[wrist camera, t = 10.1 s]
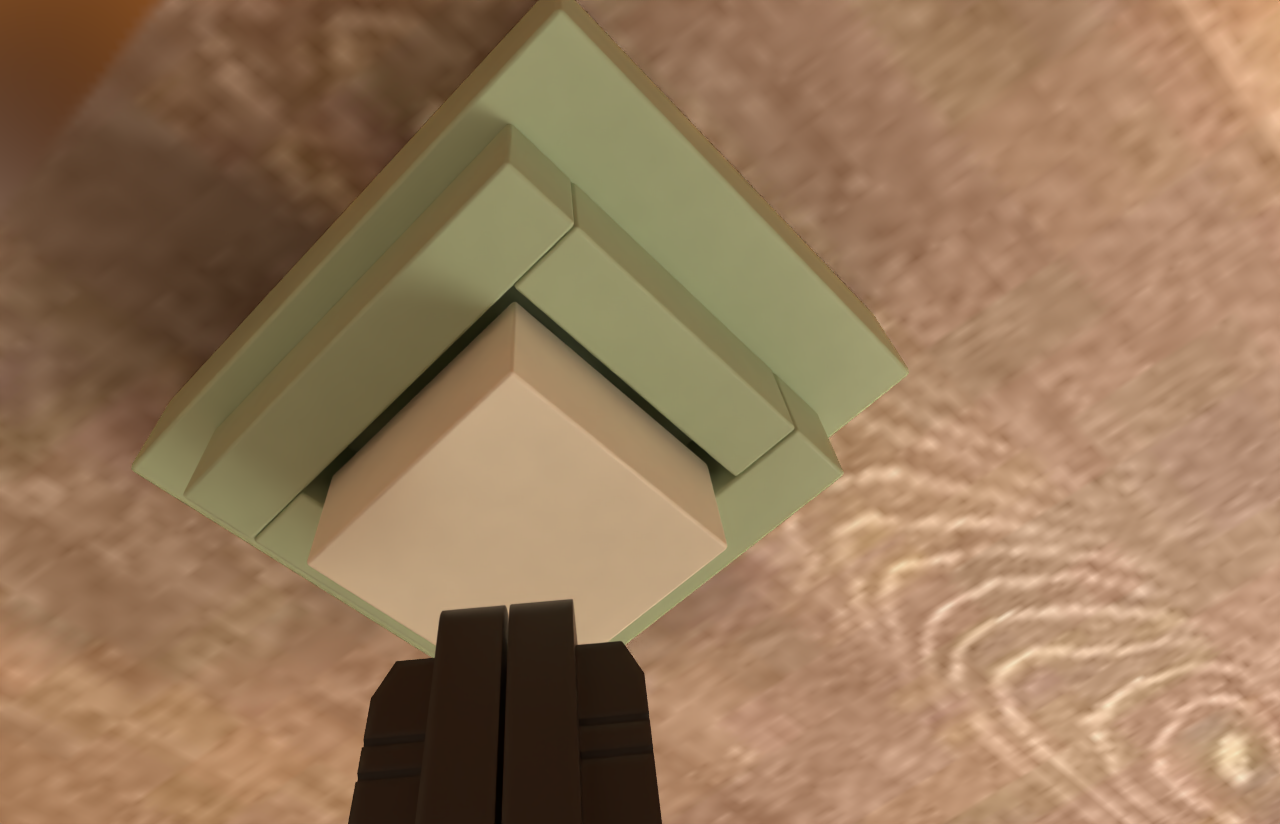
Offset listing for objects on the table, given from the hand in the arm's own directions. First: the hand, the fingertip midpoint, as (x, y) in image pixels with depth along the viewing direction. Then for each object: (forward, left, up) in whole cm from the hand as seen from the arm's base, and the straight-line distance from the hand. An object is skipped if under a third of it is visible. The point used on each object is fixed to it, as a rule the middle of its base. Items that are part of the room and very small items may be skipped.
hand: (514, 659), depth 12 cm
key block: (0, 0, -8) cm, 8 cm away
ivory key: (0, 0, -4) cm, 4 cm away
